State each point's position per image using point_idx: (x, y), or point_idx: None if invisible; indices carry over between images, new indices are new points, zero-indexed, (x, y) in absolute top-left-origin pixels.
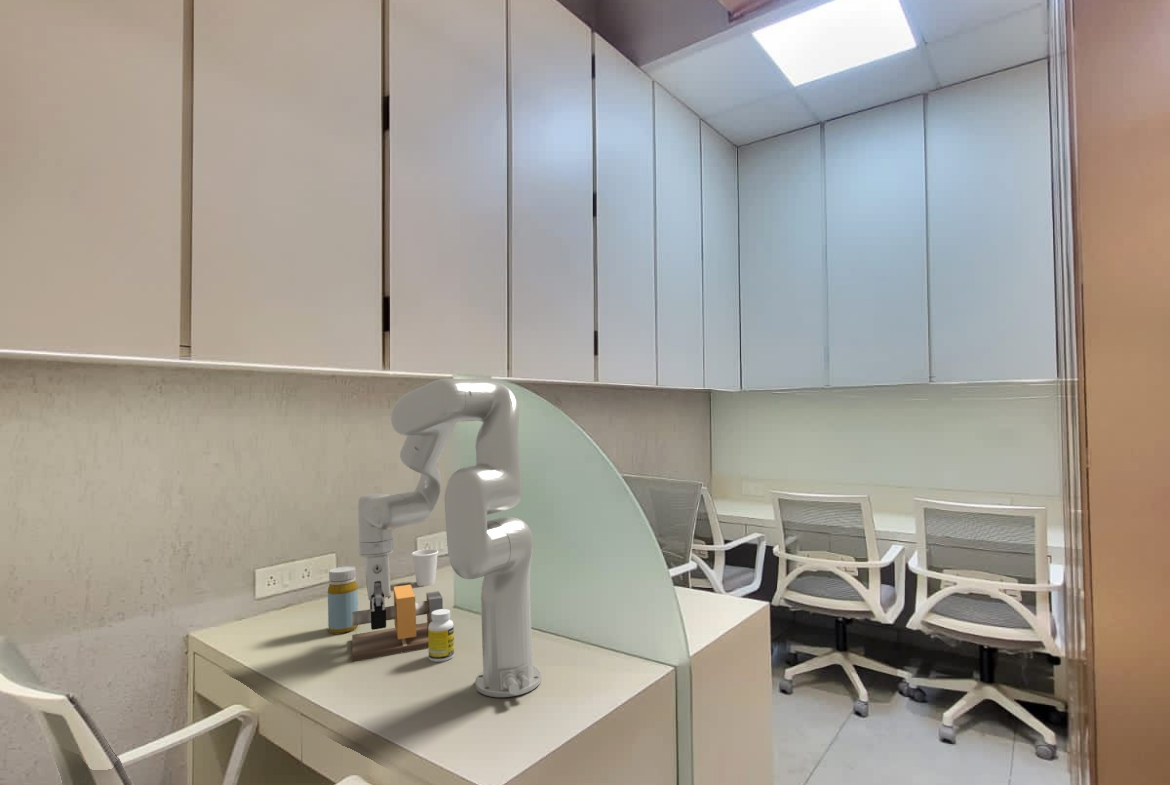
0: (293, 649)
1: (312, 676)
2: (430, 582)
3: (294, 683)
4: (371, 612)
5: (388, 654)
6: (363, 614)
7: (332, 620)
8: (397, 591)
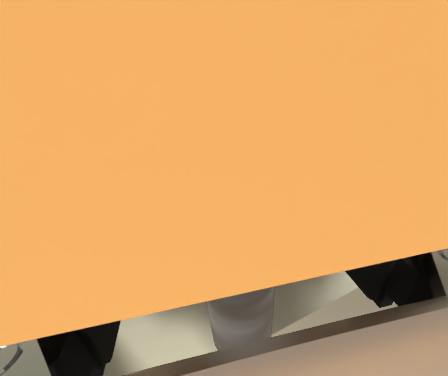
0: (160, 342)
1: (330, 274)
2: None
3: (341, 290)
4: (389, 298)
5: None
6: (272, 313)
7: None
8: (243, 255)
